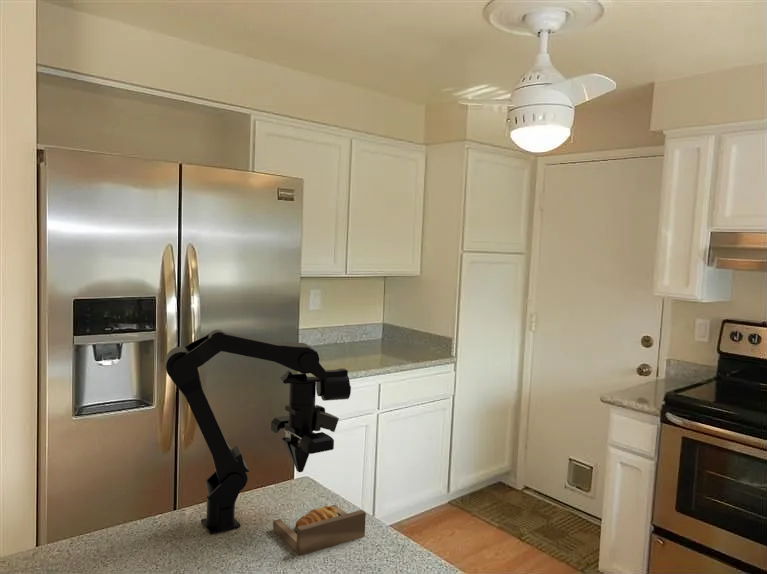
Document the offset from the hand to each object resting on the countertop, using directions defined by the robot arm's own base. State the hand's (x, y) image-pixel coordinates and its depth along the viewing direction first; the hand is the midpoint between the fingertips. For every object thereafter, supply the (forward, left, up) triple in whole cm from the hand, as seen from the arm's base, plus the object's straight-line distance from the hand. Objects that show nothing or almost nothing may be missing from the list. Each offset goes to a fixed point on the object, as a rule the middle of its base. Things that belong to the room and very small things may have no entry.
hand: (300, 471), depth 129 cm
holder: (+9, 0, -10) cm, 13 cm away
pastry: (+7, +1, -10) cm, 13 cm away
